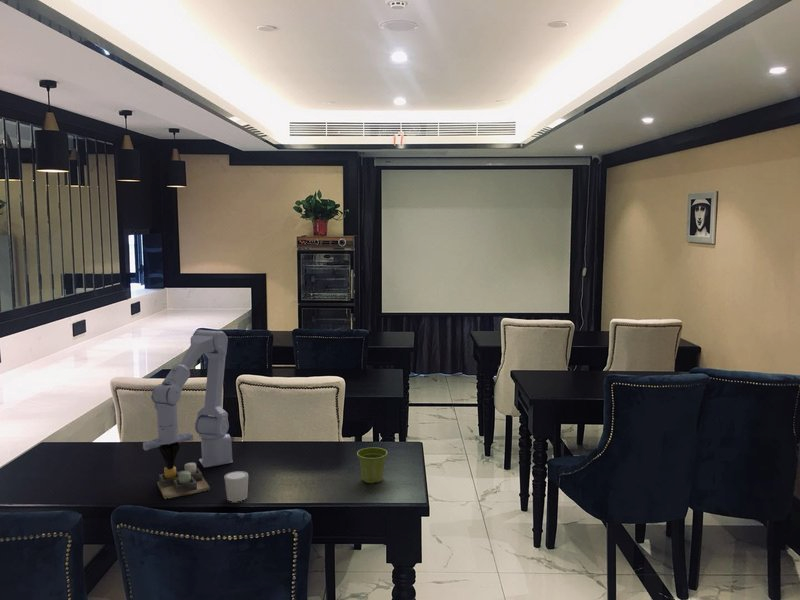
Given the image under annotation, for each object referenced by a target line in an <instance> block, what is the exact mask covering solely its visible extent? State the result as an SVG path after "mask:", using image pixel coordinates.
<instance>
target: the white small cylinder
mask: <svg viewBox="0 0 800 600" xmlns="http://www.w3.org/2000/svg"><path fill="white" fill-rule="evenodd" d="M196 468H197V462H187V463H185V464H184V470H185V471H189V472H191V475H193V474H197V471H196Z"/></svg>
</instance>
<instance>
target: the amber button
mask: <svg viewBox="0 0 800 600" xmlns="http://www.w3.org/2000/svg"><path fill="white" fill-rule="evenodd" d="M163 471H164V473H163V474H164V476H165V479H171V478H176V472H177V467H176V466H175V465H174V466H173V468H172V469H168V468H166V466H165V467H164V468H163Z"/></svg>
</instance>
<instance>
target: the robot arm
mask: <svg viewBox="0 0 800 600" xmlns="http://www.w3.org/2000/svg"><path fill="white" fill-rule="evenodd" d="M228 342H229V338H228V336H227V334H226V333H225V332H224V331H223V330H208V329H207V330H206V329H196V330H195V331H194V332H193V334H192V335H191V337H190V346H189V347H188V349H187V351H186V352H185V354H184V355H183V357H182V359H181V361H180V363H179V364H176V365H173V366H172V368H171V369H170V371H169V373H167V375H166V377H165V378H164V379H163V381H162V382H161V384H158V385H156V386H155V387H154V388H153V389H152V393H151V395H150V398H151V401H152V402H153V404H154V409H155V410H156V423H157V425H156V426H157V438H153V439H151V440H148V441H144V442H142V449H143V450H144V451H149V450H151V449H155V448H156V449H157V448H158V450H159V452H160V453H161V455H162V458H163V460H164V463H165V467H166V468H168V469H172V468H173V466H175V461H176V457H177V455H178V453H179V450H180V449H181V448H180V447H181V445H180V444H179V443H183V442H189V441H190V442H191V441H193V440H194V434H193V433H191V432H188V433H179V428H178V427H179V426H178V409H177V407H178V406H177V404H178V403H179V401H180V399H181V395H182V394H181V393H182V392H183V387H184V386H185V384H186V383H187V382H188V380H189V378H190V377H191V372H190V371H191V368H193V367H194V365H195V364H196V363H197V362H198V360H199V359H200V358H201V356H203V354H204V355H205V356H206V358H207V359H208V360H207V361H208V362H207V373H206V386H205V397H204V406H203V407H202V408H201V409H200V410H198V412H197V417H196V419H195V421H194V431H195V432H196V434H197V435H198V437H199V438H200V443H201V447H200V448H201V458H199V459H198V461H199V463H200V464H201V465H202V467H203V468H210V467H216V466H222V465H227V464H232V463H234V462H233V446H232V437H231V435H230V433H228V431H229V428H230V425H229V420H228V419H229V414H228V412H227V411H226V410H225V409H223V407H222V402H223V401H222V400H223V389H224V378H225V366H226V356H227V352H228V351H227V350H228V344H229V343H228Z"/></svg>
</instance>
